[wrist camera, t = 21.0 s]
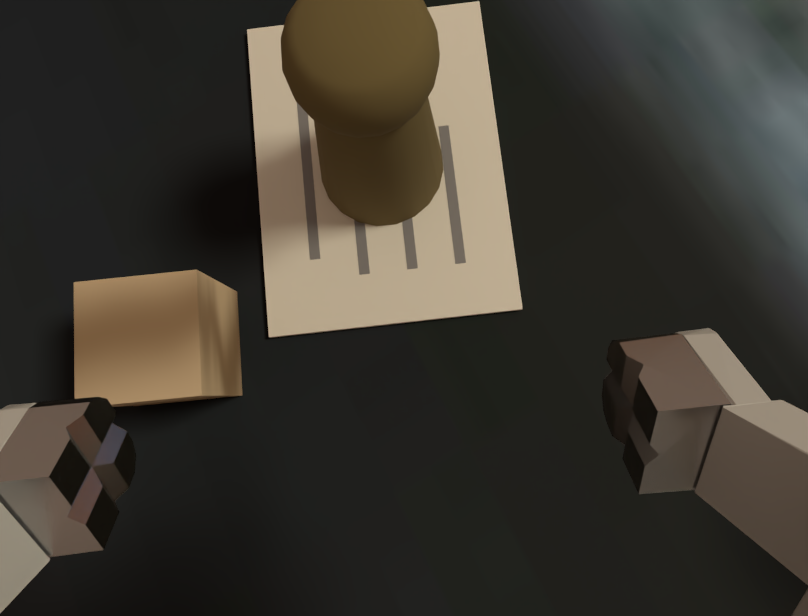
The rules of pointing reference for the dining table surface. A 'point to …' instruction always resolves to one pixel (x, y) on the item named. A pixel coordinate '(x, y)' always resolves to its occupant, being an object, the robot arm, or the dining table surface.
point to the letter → (390, 244)
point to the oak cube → (156, 339)
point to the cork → (368, 101)
